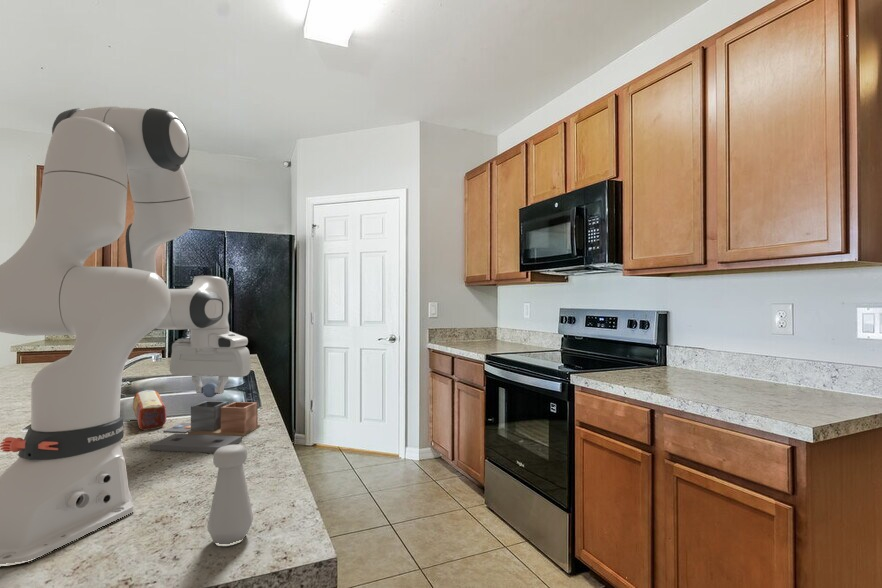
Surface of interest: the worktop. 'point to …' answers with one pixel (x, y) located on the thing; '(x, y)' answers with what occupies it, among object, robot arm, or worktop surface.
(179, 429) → the card
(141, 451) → the worktop surface
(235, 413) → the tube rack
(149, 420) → the snack package
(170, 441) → the grey flat slab
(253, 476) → the worktop surface
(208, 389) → the ball blue
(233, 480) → the salt shaker
